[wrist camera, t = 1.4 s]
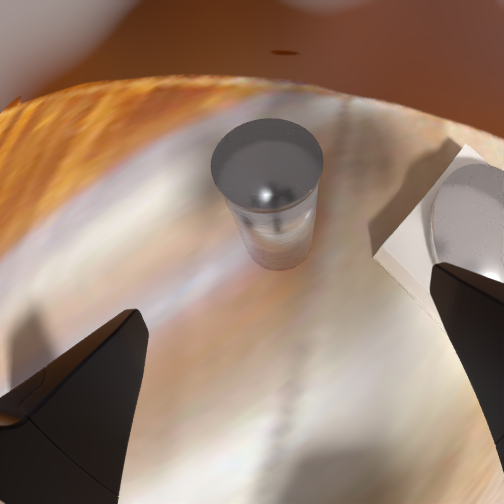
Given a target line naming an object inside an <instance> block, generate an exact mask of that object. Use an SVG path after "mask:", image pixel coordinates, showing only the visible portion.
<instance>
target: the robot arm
mask: <svg viewBox="0 0 504 504" xmlns="http://www.w3.org/2000/svg"><path fill="white" fill-rule="evenodd" d="M430 295H431V297H432V300H433V302H434V304H435V307H436V309H437V311H438V314H439V316H440V318H441V321H442V323H443V326H444V328H445V331H446V333H447V335H448V337H449V339H450V341H451V343H452V345H453V347H454V349H455V351H456V353H457V355H458V357H459V359H460V361H461V363H462V365H463V367H464V369H465V372H466V374H467V376H468V378H469V380H470V383H471V385H472V387H473V389H474V392H475V394H476V396H477V399H478V401H479V403H480V406H481V408H482V411H483V413H484V416H485V418H486V421H487V424H488V426H489V429H490V432H491V434H492V437H493V440H494V443H495V445H496V449H497V452H498V456H499V459H500V462H501V465H502V468H503V472H504V283H502V282H499V281H497V280H494V279H491V278H489V277H486V276H483V275H481V274H478V273H475V272H472V271H470V270H467V269H464V268H461V267H458V266H456V265H453V264H450V263H447V262H441V263H436V264H434V265H433V267H432V272H431V280H430ZM148 338H149V332H148V329H147V326H146V324H145V322H144V320H143V317H142V315H141V313H140V311H139V310H138V309H127V310H124V311H123V312H121V313H120V314H118V315H117V316H116V317H114V318H113V319H111V320H110V321H108V322H107V323H106V324H104V325H103V326H101V327H100V328H99V329H97V330H96V331H94V332H93V333H92V334H90V335H89V336H87V337H86V338H84V339H83V340H82V341H80V342H79V343H77V344H76V345H75V346H73V347H72V348H71V349H69V350H68V351H66V352H65V353H64V354H62V355H61V356H59V357H58V358H57V359H55V360H54V361H53V362H51V363H50V364H48V365H47V367H44V368H43V369H41V370H40V371H39V372H37V373H36V374H35V375H33V376H32V377H30V378H29V379H28V380H26V381H25V382H23V383H22V384H20V385H19V386H17V387H16V388H14V389H13V390H11V391H10V392H8V393H6V394H5V395H3V396H2V397H0V504H118V499H119V497H118V496H119V491H120V485H121V479H122V473H123V468H124V462H125V457H126V452H127V447H128V442H129V437H130V432H131V427H132V422H133V418H134V413H135V409H136V404H137V400H138V396H139V392H140V387H141V383H142V379H143V373H144V366H145V359H146V352H147V345H148Z"/></svg>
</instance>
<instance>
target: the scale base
mask: <svg viewBox="0 0 504 504" xmlns="http://www.w3.org/2000/svg"><path fill="white" fill-rule="evenodd" d="M469 164H485V165H489V164H488V163H487V162H486V161H485V160H484V159H483V158H482V157H481V156H480V155H478V154H477V153H476V152H475V151H474V150H473V149H472V148H471V147H470V146H468V145H467V144H465V145H464V147H463V148H462V149H461V151H460V152H459V153H458V155H457V156H456V157H455V159H454V160H453V161H452V163H451V164H450V165H449V166H448V168H447V169H446V170H445V172H444V173H443V174H442V175H441V177H440V178H439V179H438V180H437V182H436V183H435V184H434V185H433V187H432V188H431V189H430V190H429V192H428V193H427V194H426V195H425V196H424V198H423V199H422V200H421V201H420V202H419V204H418V205H417V206H416V207H415V208H414V209H413V211H412V212H411V213H410V214H409V215H408V216H407V218H406V219H405V220H404V221H403V222H402V223H401V225H400V226H399V227H398V228H397V229H396V230H395V231H394V232H393V234H392V235H391V236H390V237H389V238H388V239H387V240H386V241H385V242H384V244H383V245H382V246H381V247H380V249H379V250H378V251H377V253H376V254H375V255H374V257H373V258H374V259H375V260H376V261H377V262H378V263H379V264H380V265H381V266H382V267H383V268H384V269H385V270H386V271H387V272H388V273H389V274H390V275H391V276H392V277H393V278H394V279H395V280H396V281H397V282H398V283H399V284H400V285H401V286H402V287H403V288H404V289H405V290H406V291H407V292H408V293H409V294H410V295H411V296H412V297H413V298H414V299H415V300H416V301H417V302H418V304H419V305H420V306H421V307H422V308H423V309H424V310H425V311H426V312H427V313H428V314H429V315H430V316H431V317H432V318H433V320H434V321H435V322H436V323H437V324H438V325H439V326H440V327H441V328H442V329H443V331H444V332H445V333H446V331H445V328H444V326H443V323H442V321H441V318H440V316H439V314H438V311H437V309H436V307H435V304H434V302H433V300H432V297H431V295H430V280H431V272H432V267H433V265H434V264H435V260H434V257H433V252H432V247H431V241H430V214H431V208H432V204H433V201H434V198H435V196H436V193H437V191H438V190H439V188H440V187H441V185H442V184H443V182H444V181H445V179H446V178H447V177H448V176H449V175H450V174H451V173H452V172H454V171H455V170H456V169H458V168H460V167H462V166H465V165H469ZM489 166H490V165H489ZM446 334H447V333H446Z"/></svg>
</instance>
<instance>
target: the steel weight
mask: <svg viewBox="0 0 504 504" xmlns="http://www.w3.org/2000/svg"><path fill="white" fill-rule="evenodd" d="M322 169H323V155H322V151H321V148H320V146H319V144H318V142H317V140H316V139H315V138H314V136H313V135H312V134H311V133H310V132H308V131H307V130H306V129H305V128H303V127H301V126H300V125H297V124H295V123H293V122H290V121H286V120H282V119H259V120H254V121H250V122H247V123H245V124H242V125H240V126H238V127H236V128H235V129H233V130H232V131H230V132H229V133H228V134H227V135H226V136H225V137H224V138H223V139H222V140H221V141H220V142H219V144H218V145H217V147H216V149H215V151H214V153H213V156H212V160H211V172H212V176H213V179H214V182H215V184H216V186H217V188H218V190H219V192H220V193H221V195H222V196H223V197H224V199H225V201H226V203H227V205H228V208H229V210H230V212H231V214H232V216H233V219H234V221H235V223H236V225H237V228H238V230H239V232H240V234H241V237H242V239H243V241H244V243H245V245H246V248H247V250H248V252H249V254H250V256H251V257H252V259H253V260H254V261H255V262H256V263H257V264H259V265H260V266H262V267H264V268H266V269H269V270H275V271H282V270H288V269H291V268H293V267H295V266H297V265H299V264H300V263H301V262H302V261H303V260H304V259H305V258H306V257H307V255H308V254H309V252H310V249H311V246H312V240H313V232H314V224H315V215H316V206H317V197H318V188H319V181H320V179H321V175H322Z"/></svg>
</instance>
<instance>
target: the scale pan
mask: <svg viewBox="0 0 504 504" xmlns="http://www.w3.org/2000/svg"><path fill="white" fill-rule="evenodd" d="M430 241H431V247H432V252H433V257H434V260H435V264H436V263H441V262H447V263H450V264H453V265H456V266H458V267H461V268H464V269H467V270H470V271H472V272H475V273H478V274H481V275H483V276H486V277H489V278H491V279H494V280H497V281H499V282H502V283H504V171H502V170H501V169H498V168H496V167H493V166H489V165H485V164H469V165H465V166H462V167H460V168H458V169H456V170H455V171H454V172H452V173H451V174H450V175H449V176H448V177H447V178H446V179H445V181H444V182H443V184H442V185H441V187H440V188H439V190H438V191H437V193H436V196H435V198H434V201H433V204H432V208H431V214H430Z"/></svg>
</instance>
